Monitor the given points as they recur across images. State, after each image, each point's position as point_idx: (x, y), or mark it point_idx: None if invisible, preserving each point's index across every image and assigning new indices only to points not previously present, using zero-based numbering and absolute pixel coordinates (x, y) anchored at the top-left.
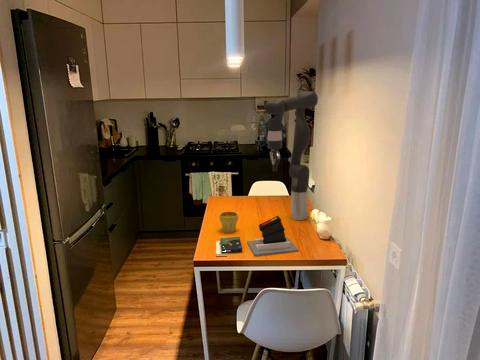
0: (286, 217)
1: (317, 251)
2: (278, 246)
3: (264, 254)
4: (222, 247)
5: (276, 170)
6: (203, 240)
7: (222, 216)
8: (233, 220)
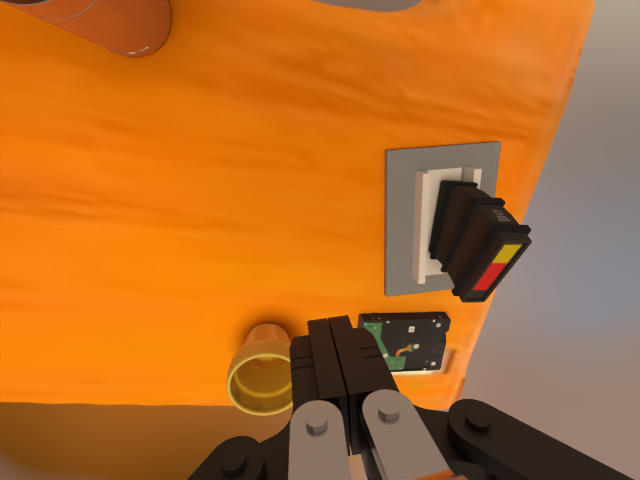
0: (120, 80)
1: (517, 68)
2: None
3: None
4: (426, 367)
5: (365, 336)
6: None
7: (244, 394)
8: None
